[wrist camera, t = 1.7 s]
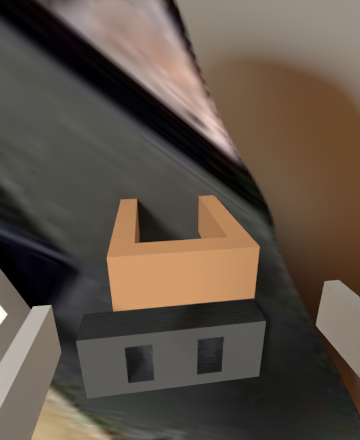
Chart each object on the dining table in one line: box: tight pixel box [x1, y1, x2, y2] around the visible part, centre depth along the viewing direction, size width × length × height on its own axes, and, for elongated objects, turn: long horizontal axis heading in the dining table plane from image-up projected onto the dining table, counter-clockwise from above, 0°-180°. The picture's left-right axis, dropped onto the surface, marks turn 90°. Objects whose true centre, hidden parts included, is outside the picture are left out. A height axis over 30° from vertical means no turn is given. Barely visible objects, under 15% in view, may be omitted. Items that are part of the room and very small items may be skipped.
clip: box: [107, 195, 260, 311], centre depth 20 cm, size 4×8×10 cm, turn 90°
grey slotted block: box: [76, 299, 266, 399], centre depth 29 cm, size 8×18×4 cm, turn 90°
